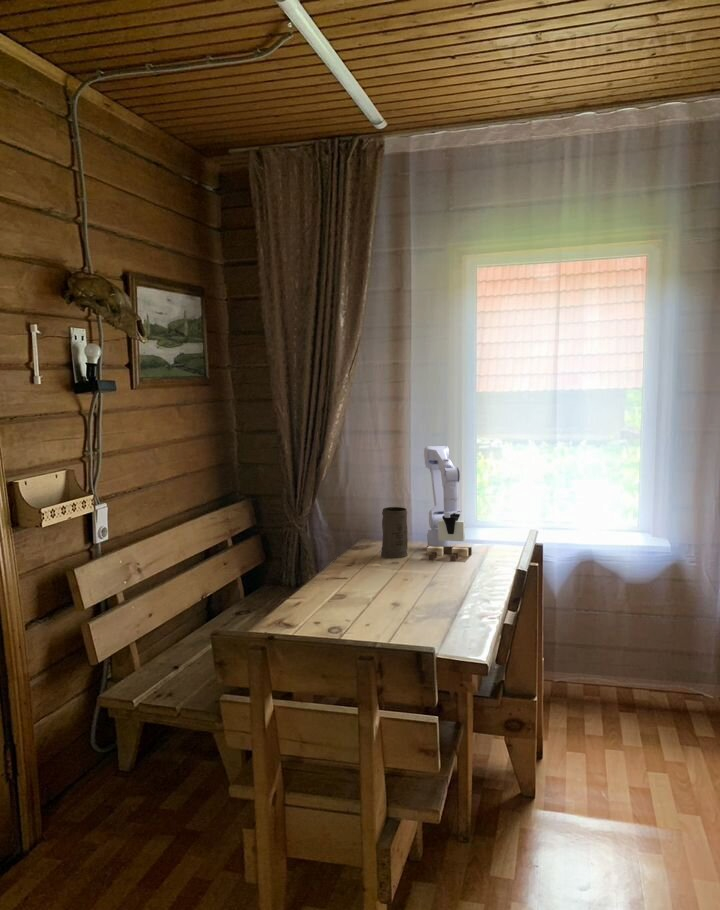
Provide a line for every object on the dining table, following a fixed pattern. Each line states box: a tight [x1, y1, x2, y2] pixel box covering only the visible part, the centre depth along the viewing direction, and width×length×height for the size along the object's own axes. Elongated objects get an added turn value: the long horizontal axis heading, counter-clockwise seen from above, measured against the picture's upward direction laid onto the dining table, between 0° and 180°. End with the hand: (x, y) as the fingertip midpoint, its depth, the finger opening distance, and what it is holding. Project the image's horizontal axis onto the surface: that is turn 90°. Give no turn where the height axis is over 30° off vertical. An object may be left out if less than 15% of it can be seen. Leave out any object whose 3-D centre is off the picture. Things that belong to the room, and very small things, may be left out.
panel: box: [438, 520, 466, 542], centre depth 271 cm, size 10×3×8 cm, turn 70°
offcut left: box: [426, 546, 444, 556], centre depth 278 cm, size 6×3×3 cm, turn 71°
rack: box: [419, 545, 473, 563], centre depth 272 cm, size 18×14×4 cm
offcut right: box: [452, 546, 469, 557], centre depth 274 cm, size 6×3×3 cm, turn 71°
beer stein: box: [380, 506, 409, 560], centre depth 279 cm, size 15×11×20 cm
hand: (451, 533), depth 271 cm, fingers closed on panel, 3 cm apart
